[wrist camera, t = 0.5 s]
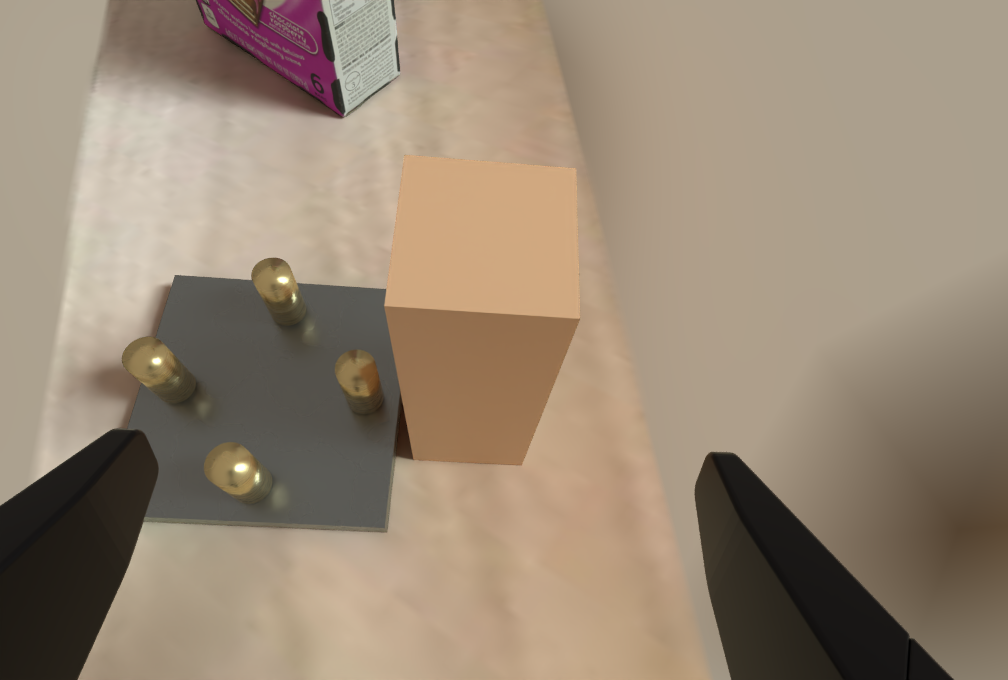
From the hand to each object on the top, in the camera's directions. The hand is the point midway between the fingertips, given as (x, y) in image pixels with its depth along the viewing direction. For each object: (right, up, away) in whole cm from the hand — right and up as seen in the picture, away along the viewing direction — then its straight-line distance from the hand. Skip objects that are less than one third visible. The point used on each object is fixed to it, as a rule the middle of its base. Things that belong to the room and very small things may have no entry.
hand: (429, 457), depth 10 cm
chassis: (-8, -1, +16) cm, 18 cm away
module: (0, -1, +17) cm, 17 cm away
